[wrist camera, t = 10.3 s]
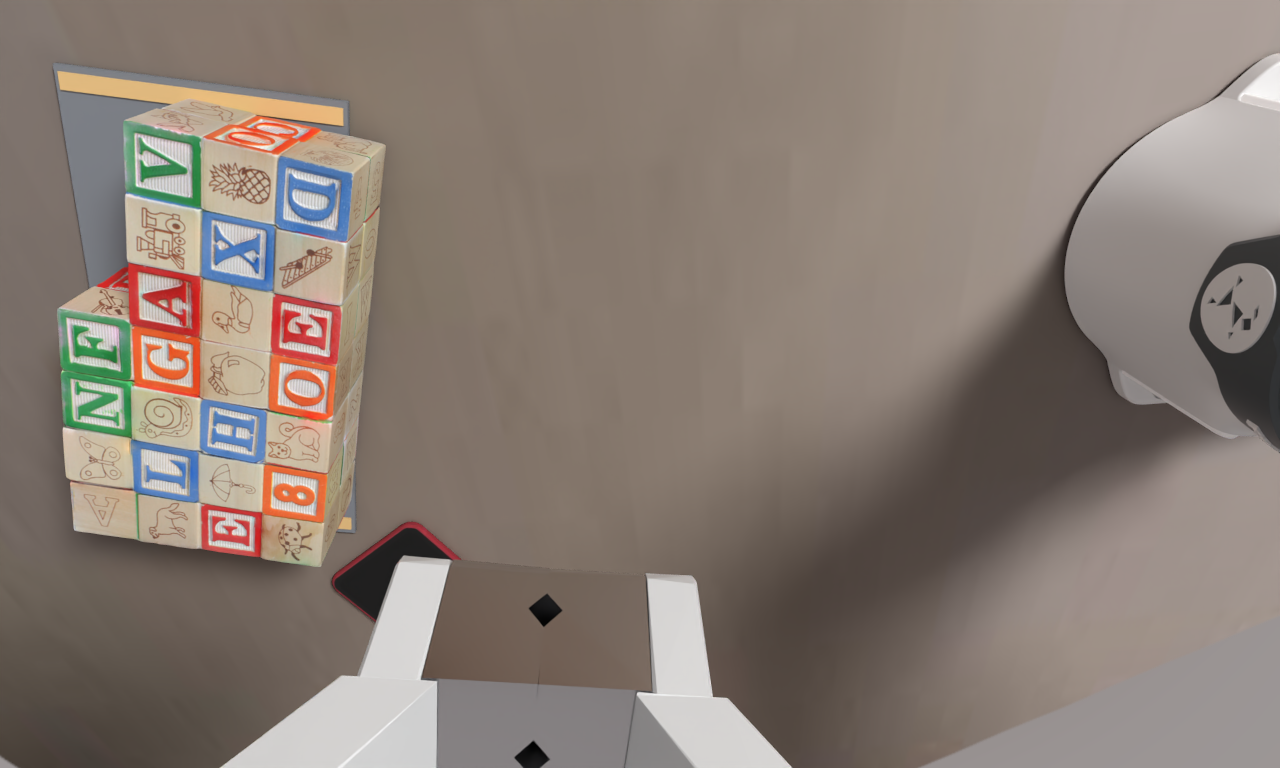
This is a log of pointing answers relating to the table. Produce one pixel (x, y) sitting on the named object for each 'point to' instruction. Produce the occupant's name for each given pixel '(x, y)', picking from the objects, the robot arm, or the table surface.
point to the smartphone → (385, 565)
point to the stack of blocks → (225, 337)
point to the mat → (97, 152)
